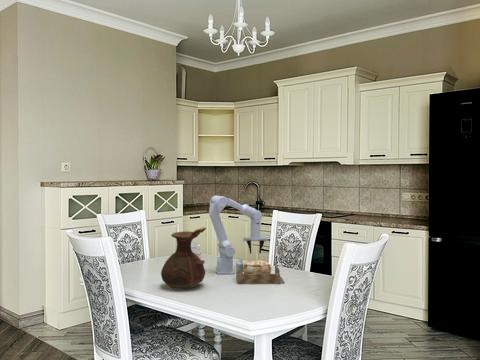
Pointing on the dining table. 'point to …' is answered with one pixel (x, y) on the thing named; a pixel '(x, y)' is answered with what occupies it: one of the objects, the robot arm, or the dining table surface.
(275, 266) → the bookend
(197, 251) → the ink box
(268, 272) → the trinket box
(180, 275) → the jug
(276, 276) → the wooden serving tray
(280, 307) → the dining table surface
